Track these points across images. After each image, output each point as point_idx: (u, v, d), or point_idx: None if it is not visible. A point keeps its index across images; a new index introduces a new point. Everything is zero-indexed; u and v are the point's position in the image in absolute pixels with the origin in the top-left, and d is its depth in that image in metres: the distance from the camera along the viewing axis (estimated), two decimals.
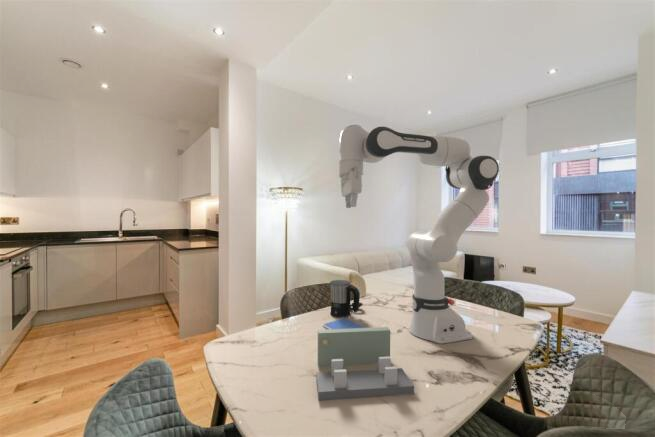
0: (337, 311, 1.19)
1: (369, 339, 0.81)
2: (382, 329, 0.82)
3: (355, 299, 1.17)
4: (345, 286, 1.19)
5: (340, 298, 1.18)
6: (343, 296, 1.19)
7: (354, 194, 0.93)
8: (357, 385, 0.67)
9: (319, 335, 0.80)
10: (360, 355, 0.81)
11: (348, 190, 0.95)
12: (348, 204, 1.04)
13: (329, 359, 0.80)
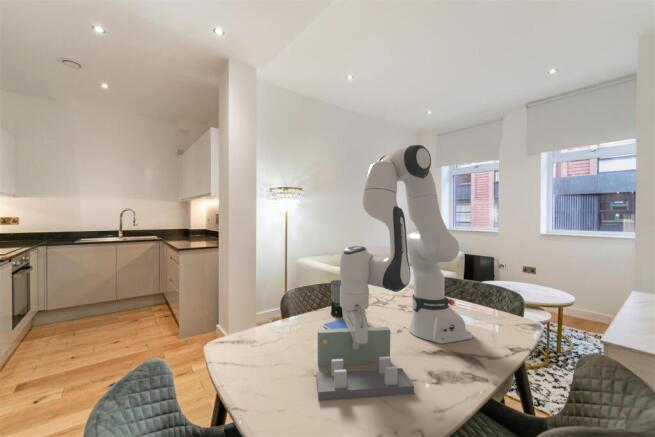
0: (338, 310, 1.19)
1: (369, 338, 0.81)
2: (382, 329, 0.82)
3: None
4: None
5: None
6: None
7: None
8: (357, 385, 0.67)
9: (319, 335, 0.80)
10: (360, 355, 0.81)
11: (351, 333, 0.77)
12: None
13: (329, 359, 0.80)
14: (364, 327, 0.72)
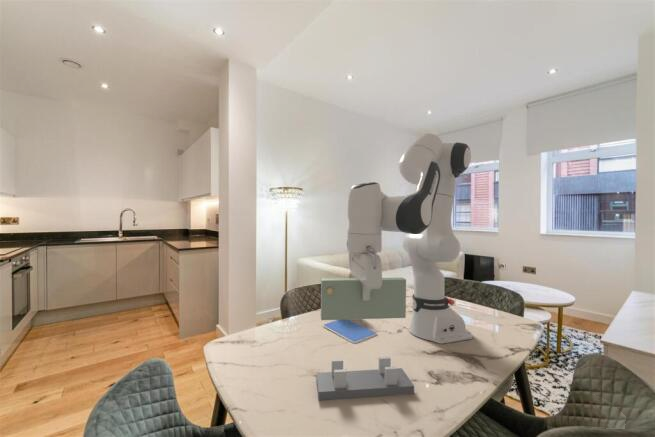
0: None
1: (381, 289, 0.69)
2: (396, 279, 0.71)
3: None
4: None
5: None
6: None
7: None
8: (357, 385, 0.67)
9: (323, 283, 0.68)
10: (370, 308, 0.69)
11: (361, 279, 0.65)
12: None
13: (335, 312, 0.68)
14: (378, 268, 0.60)
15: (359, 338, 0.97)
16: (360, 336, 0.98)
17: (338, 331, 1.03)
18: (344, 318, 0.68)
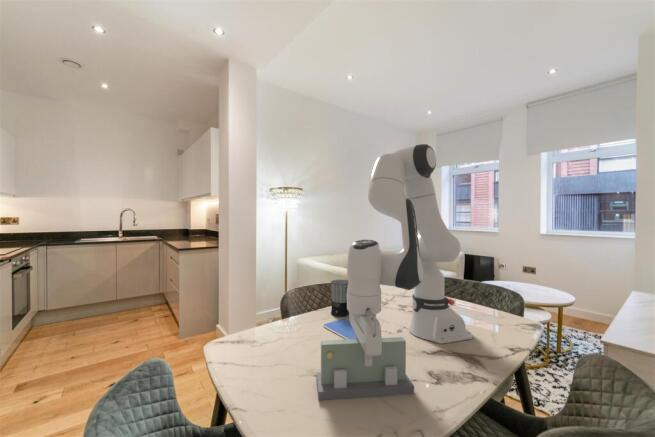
0: (338, 310, 1.19)
1: None
2: (396, 340, 0.71)
3: None
4: (346, 286, 1.20)
5: (341, 297, 1.19)
6: (344, 296, 1.19)
7: None
8: (357, 385, 0.67)
9: (323, 347, 0.68)
10: (370, 370, 0.69)
11: (361, 342, 0.65)
12: None
13: None
14: (377, 336, 0.60)
15: None
16: None
17: (338, 331, 1.03)
18: None
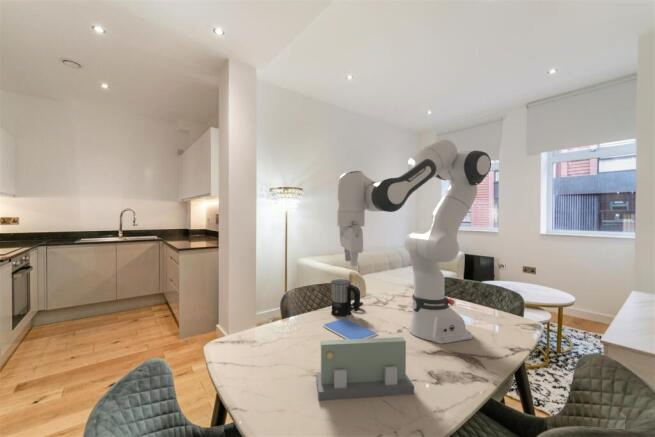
0: (338, 310, 1.20)
1: (381, 351, 0.69)
2: (396, 340, 0.71)
3: (355, 298, 1.18)
4: (346, 285, 1.20)
5: (341, 297, 1.19)
6: (344, 295, 1.20)
7: (354, 253, 0.81)
8: (357, 385, 0.67)
9: (323, 347, 0.68)
10: (370, 370, 0.69)
11: (347, 247, 0.83)
12: (347, 257, 0.92)
13: None
14: (360, 236, 0.78)
15: (359, 338, 0.97)
16: (360, 336, 0.98)
17: (338, 331, 1.03)
18: None
